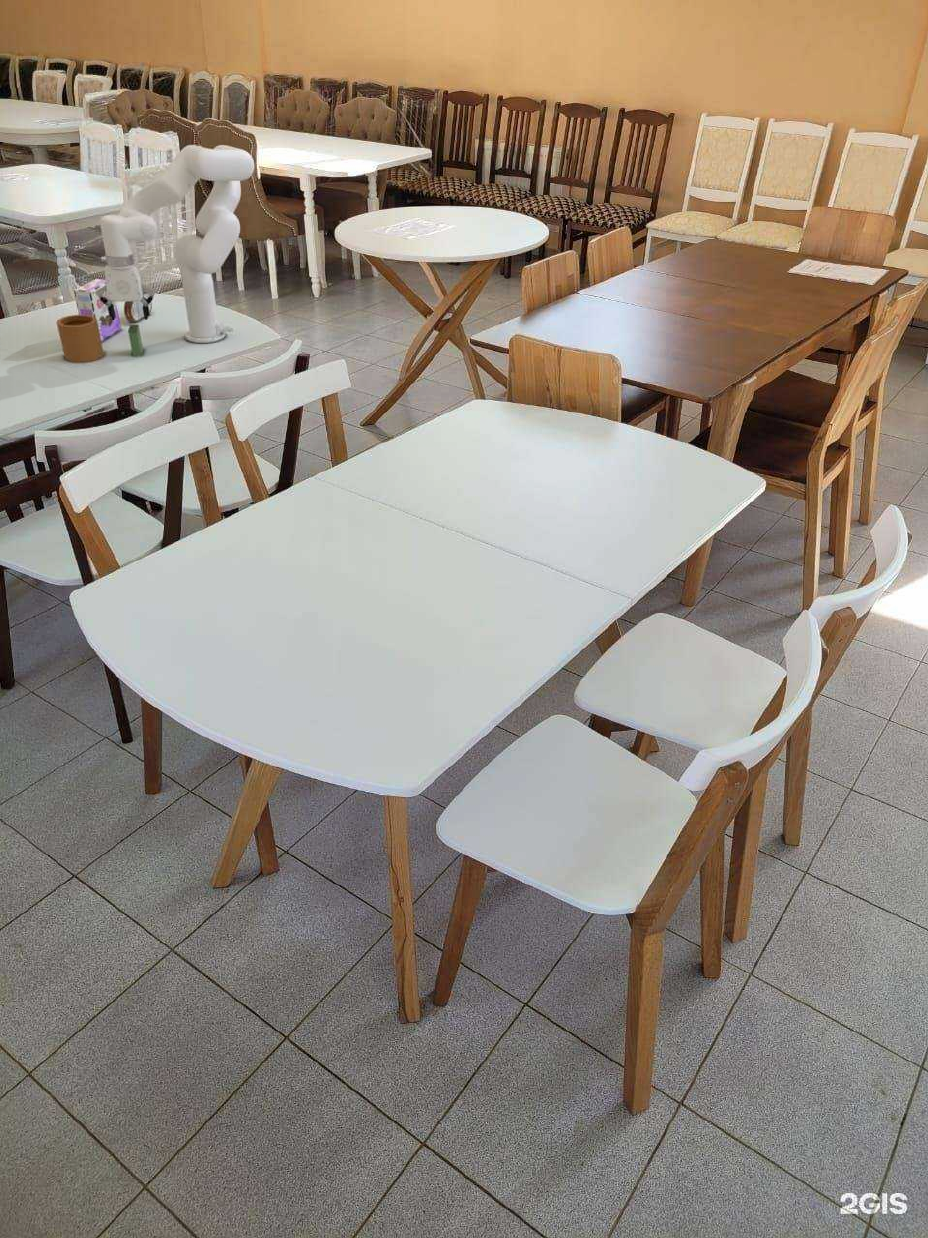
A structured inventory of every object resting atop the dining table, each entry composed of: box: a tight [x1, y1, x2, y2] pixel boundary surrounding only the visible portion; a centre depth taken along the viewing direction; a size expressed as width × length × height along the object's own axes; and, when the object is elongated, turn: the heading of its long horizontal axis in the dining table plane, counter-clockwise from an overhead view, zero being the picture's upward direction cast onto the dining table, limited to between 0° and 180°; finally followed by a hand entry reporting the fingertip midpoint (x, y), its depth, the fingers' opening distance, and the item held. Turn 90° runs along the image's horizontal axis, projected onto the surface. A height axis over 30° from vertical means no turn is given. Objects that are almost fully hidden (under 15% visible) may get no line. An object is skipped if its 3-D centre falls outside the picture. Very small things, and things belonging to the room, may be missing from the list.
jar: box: [56, 314, 105, 363], centre depth 281 cm, size 11×11×11 cm
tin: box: [123, 290, 153, 323], centre depth 312 cm, size 15×3×8 cm, turn 169°
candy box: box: [73, 278, 122, 342], centre depth 295 cm, size 14×6×16 cm, turn 168°
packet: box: [127, 324, 144, 357], centre depth 285 cm, size 3×6×8 cm, turn 10°
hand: (130, 318), depth 281 cm, fingers open, 9 cm apart
